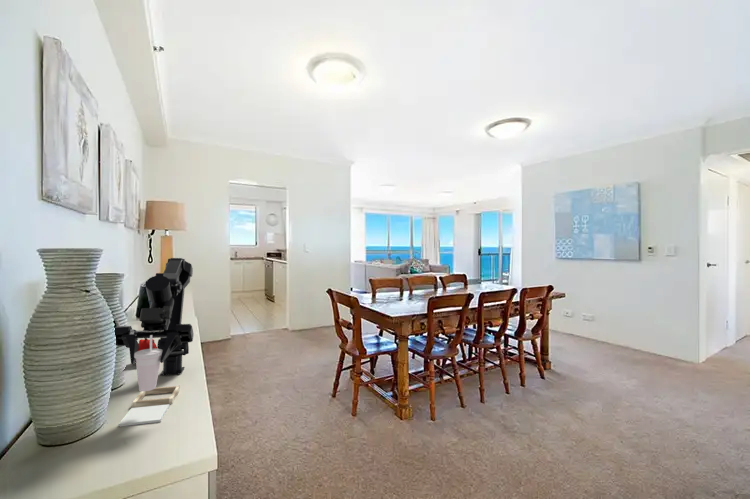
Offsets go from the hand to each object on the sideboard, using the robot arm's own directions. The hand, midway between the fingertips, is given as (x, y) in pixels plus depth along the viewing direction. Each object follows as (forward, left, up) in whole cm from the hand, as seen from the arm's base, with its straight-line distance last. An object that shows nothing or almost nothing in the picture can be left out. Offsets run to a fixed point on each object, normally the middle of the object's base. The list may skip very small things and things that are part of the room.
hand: (146, 363), depth 89 cm
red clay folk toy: (-48, -13, -14) cm, 52 cm away
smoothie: (-1, 0, -7) cm, 7 cm away
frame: (-11, 0, -14) cm, 18 cm away
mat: (0, 0, -14) cm, 14 cm away
